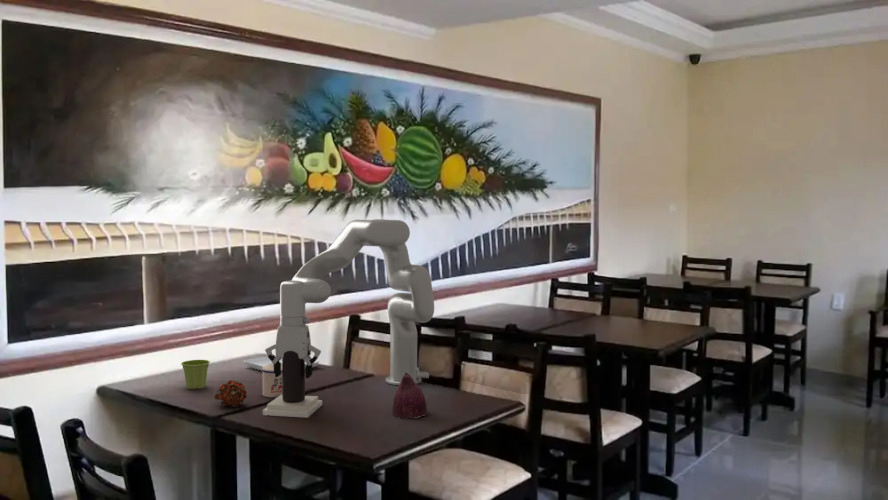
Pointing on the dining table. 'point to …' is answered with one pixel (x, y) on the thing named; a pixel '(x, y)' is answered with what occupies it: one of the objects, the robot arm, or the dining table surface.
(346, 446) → the dining table surface
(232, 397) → the dragon fruit
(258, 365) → the salad plate
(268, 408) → the stand
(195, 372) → the plant pot
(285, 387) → the dark brown water bottle
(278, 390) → the teacup with lid
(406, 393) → the vegetable
